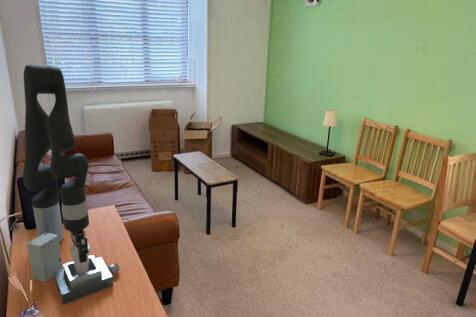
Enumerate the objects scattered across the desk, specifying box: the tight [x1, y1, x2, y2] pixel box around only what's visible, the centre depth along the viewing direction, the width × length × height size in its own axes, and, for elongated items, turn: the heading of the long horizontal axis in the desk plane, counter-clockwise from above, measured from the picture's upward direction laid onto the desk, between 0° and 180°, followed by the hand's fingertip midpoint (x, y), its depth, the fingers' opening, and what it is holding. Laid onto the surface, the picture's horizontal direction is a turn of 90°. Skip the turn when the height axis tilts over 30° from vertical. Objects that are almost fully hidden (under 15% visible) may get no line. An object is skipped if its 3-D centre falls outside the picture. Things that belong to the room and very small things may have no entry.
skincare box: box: [26, 232, 64, 284], centre depth 121 cm, size 8×6×15 cm
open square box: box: [53, 254, 120, 305], centre depth 119 cm, size 13×20×7 cm, turn 128°
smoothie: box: [69, 243, 91, 275], centre depth 115 cm, size 6×6×14 cm
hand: (80, 256), depth 115 cm, fingers open, 6 cm apart
